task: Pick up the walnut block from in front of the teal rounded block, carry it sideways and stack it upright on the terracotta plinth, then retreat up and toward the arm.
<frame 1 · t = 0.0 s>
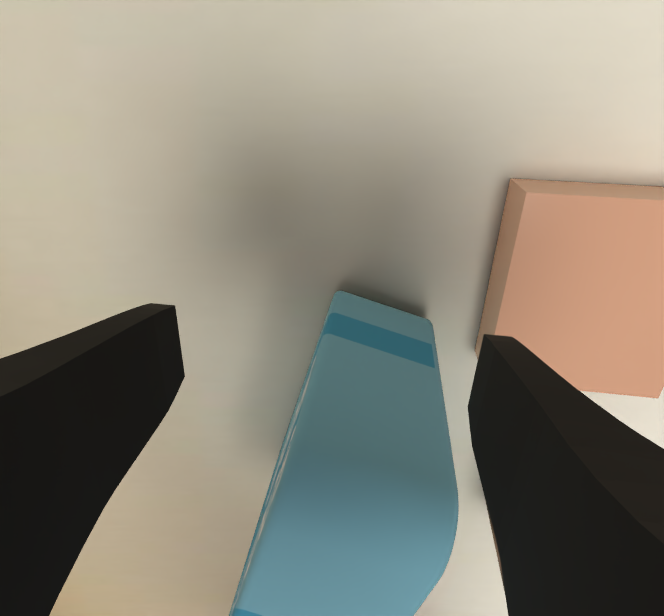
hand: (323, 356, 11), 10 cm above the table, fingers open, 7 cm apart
terracotta plinth: (574, 278, 19), on the table
teal rounded block: (346, 388, 24), on the table
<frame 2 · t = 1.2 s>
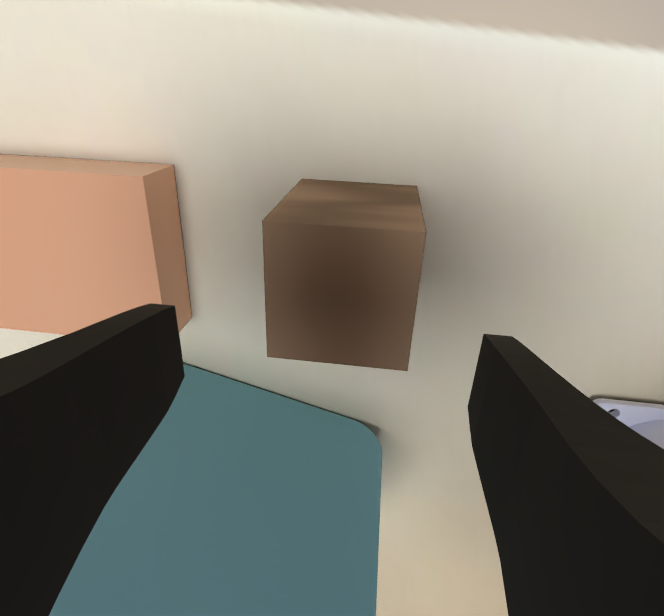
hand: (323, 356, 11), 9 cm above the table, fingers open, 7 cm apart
terracotta plinth: (97, 240, 20), on the table
walnut block: (355, 237, 19), on the table
teal rounded block: (263, 420, 24), on the table
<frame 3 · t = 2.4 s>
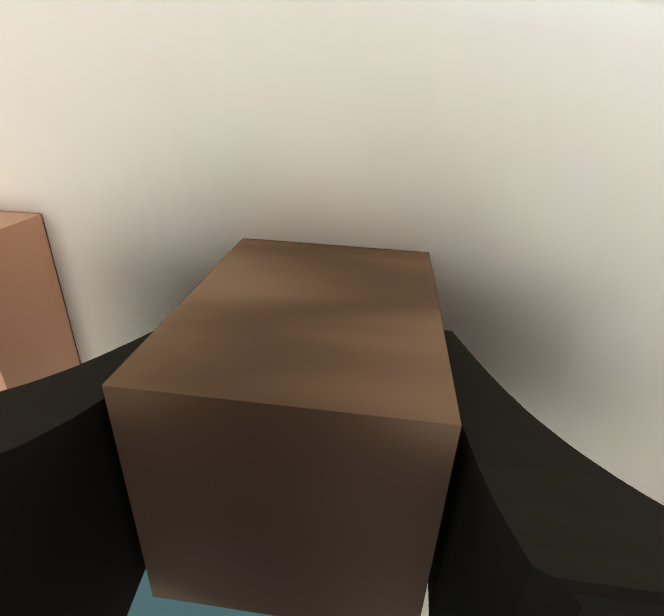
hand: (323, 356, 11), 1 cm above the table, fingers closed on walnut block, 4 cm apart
walnut block: (330, 326, 12), on the table, touching gripper
teal rounded block: (210, 551, 17), on the table
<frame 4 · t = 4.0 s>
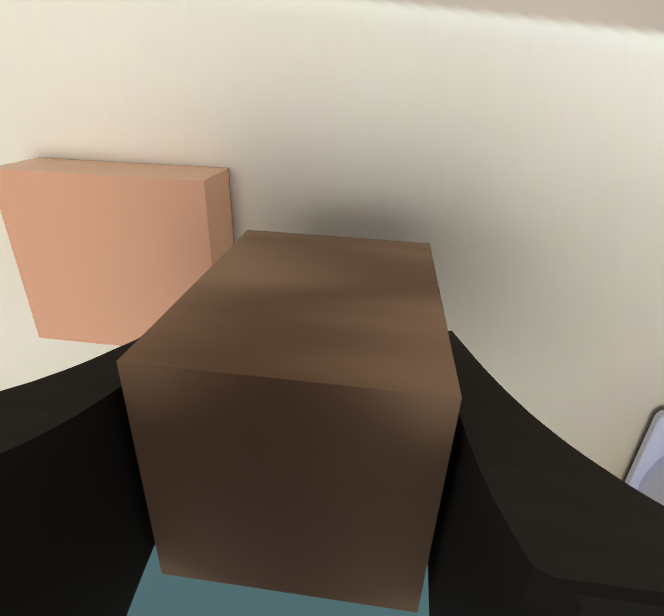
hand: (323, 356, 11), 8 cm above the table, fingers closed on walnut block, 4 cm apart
terracotta plinth: (144, 246, 19), on the table
walnut block: (333, 317, 12), point 7 cm above the table, touching gripper
teal rounded block: (309, 430, 23), on the table
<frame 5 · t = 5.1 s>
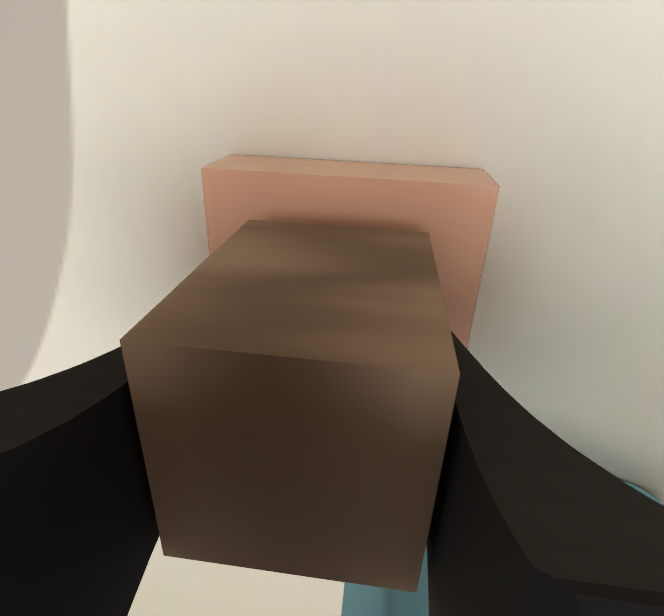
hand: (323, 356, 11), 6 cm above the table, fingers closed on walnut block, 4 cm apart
terracotta plinth: (347, 264, 16), on the table
walnut block: (333, 307, 12), point 4 cm above the table, touching gripper
teal rounded block: (501, 478, 20), on the table
when the fingers open (5 cm above the table, at t = 5.8 s): walnut block stays where it is, resting on terracotta plinth.
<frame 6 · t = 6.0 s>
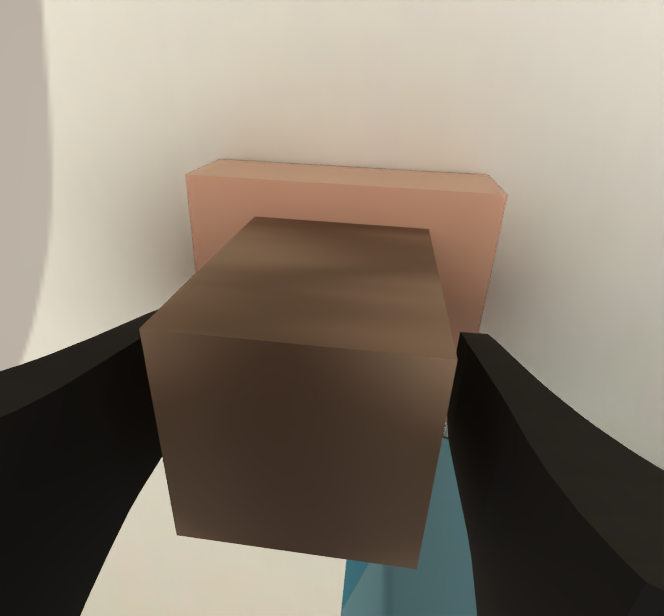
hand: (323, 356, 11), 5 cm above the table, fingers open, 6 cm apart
terracotta plinth: (344, 275, 15), on the table
walnut block: (336, 301, 13), point 2 cm above the table, touching terracotta plinth
teal rounded block: (505, 497, 19), on the table
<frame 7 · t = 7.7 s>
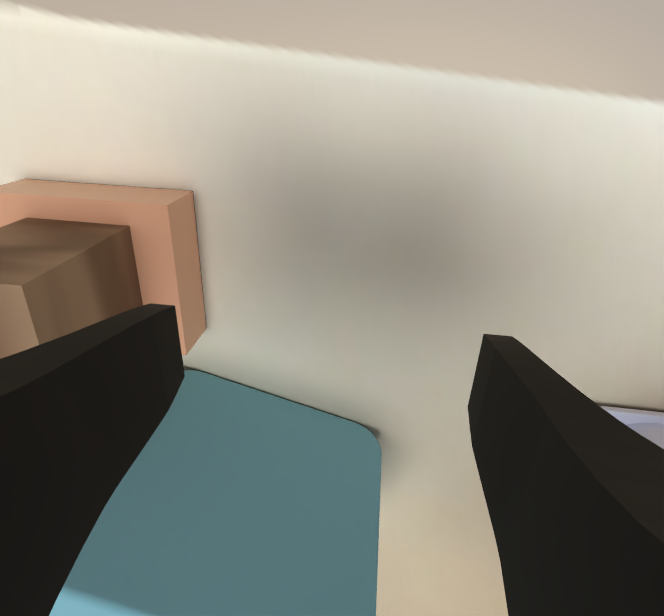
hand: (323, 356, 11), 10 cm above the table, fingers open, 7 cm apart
terracotta plinth: (120, 257, 22), on the table
walnut block: (88, 272, 20), point 2 cm above the table, touching terracotta plinth
teal rounded block: (271, 422, 26), on the table
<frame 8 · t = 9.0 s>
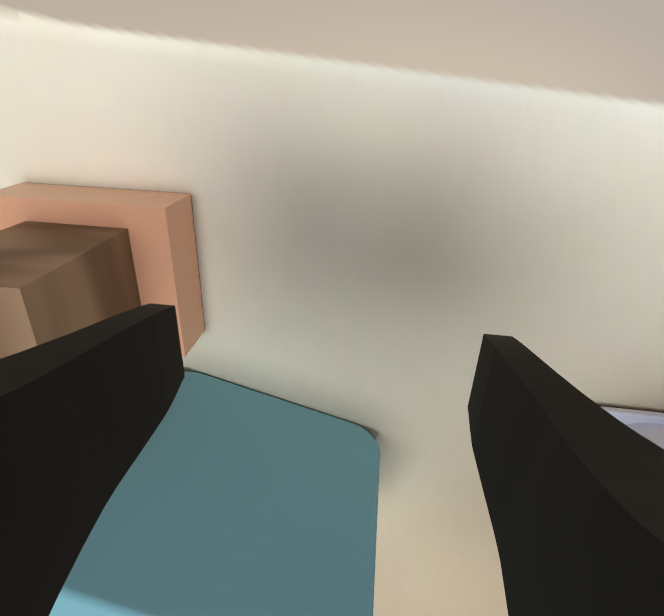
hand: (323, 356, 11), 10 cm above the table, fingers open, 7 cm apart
terracotta plinth: (119, 260, 22), on the table
walnut block: (87, 274, 20), point 2 cm above the table, touching terracotta plinth
teal rounded block: (270, 423, 26), on the table
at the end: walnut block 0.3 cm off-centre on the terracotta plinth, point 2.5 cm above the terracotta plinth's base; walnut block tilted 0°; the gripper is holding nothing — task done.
